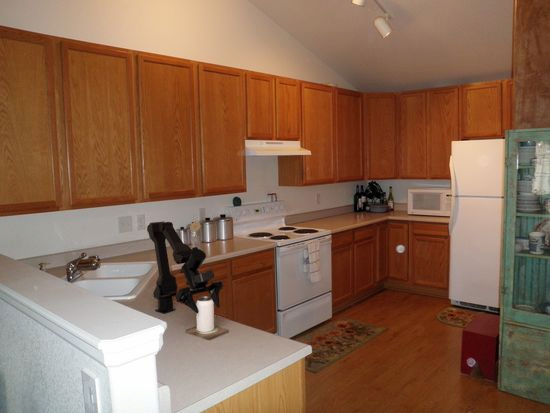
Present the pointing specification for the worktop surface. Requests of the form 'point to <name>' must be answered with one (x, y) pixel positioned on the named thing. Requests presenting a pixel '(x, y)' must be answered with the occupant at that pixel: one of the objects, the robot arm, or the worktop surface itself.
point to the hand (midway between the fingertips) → (208, 309)
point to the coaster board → (208, 335)
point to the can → (205, 314)
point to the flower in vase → (194, 228)
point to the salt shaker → (198, 244)
